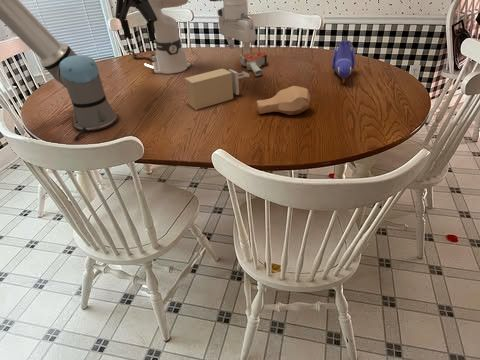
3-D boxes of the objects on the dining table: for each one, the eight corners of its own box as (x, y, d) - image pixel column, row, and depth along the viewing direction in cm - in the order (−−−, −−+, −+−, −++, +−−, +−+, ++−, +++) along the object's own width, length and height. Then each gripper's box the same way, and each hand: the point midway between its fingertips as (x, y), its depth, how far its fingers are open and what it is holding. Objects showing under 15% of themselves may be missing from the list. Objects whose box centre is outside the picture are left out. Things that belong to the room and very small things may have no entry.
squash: (314, 116, 128) (313, 95, 122) (259, 125, 130) (256, 105, 124) (308, 99, 136) (307, 78, 129) (257, 108, 138) (253, 88, 131)
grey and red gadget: (258, 80, 163) (278, 64, 175) (258, 69, 159) (279, 54, 172) (226, 73, 170) (248, 58, 183) (226, 62, 167) (248, 48, 179)
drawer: (244, 86, 152) (243, 66, 146) (251, 90, 148) (250, 69, 143) (198, 99, 143) (195, 78, 138) (204, 104, 139) (202, 82, 134)
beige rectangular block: (225, 93, 149) (223, 68, 143) (233, 98, 144) (231, 72, 138) (188, 104, 142) (184, 78, 136) (195, 109, 138) (192, 83, 131)
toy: (330, 77, 169) (331, 86, 146) (332, 39, 162) (333, 43, 140) (352, 76, 166) (356, 85, 144) (355, 38, 160) (360, 41, 137)
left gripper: (160, -22, 128) (169, 39, 140) (112, -23, 139) (125, 33, 151) (145, -19, 123) (157, 44, 135) (96, -21, 134) (111, 38, 146)
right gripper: (259, 14, 125) (260, 54, 133) (228, 7, 139) (231, 44, 148) (244, 17, 123) (246, 58, 131) (214, 10, 137) (218, 47, 145)
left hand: (140, 39), depth 143 cm, fingers open, 13 cm apart
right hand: (238, 50), depth 139 cm, fingers open, 8 cm apart
